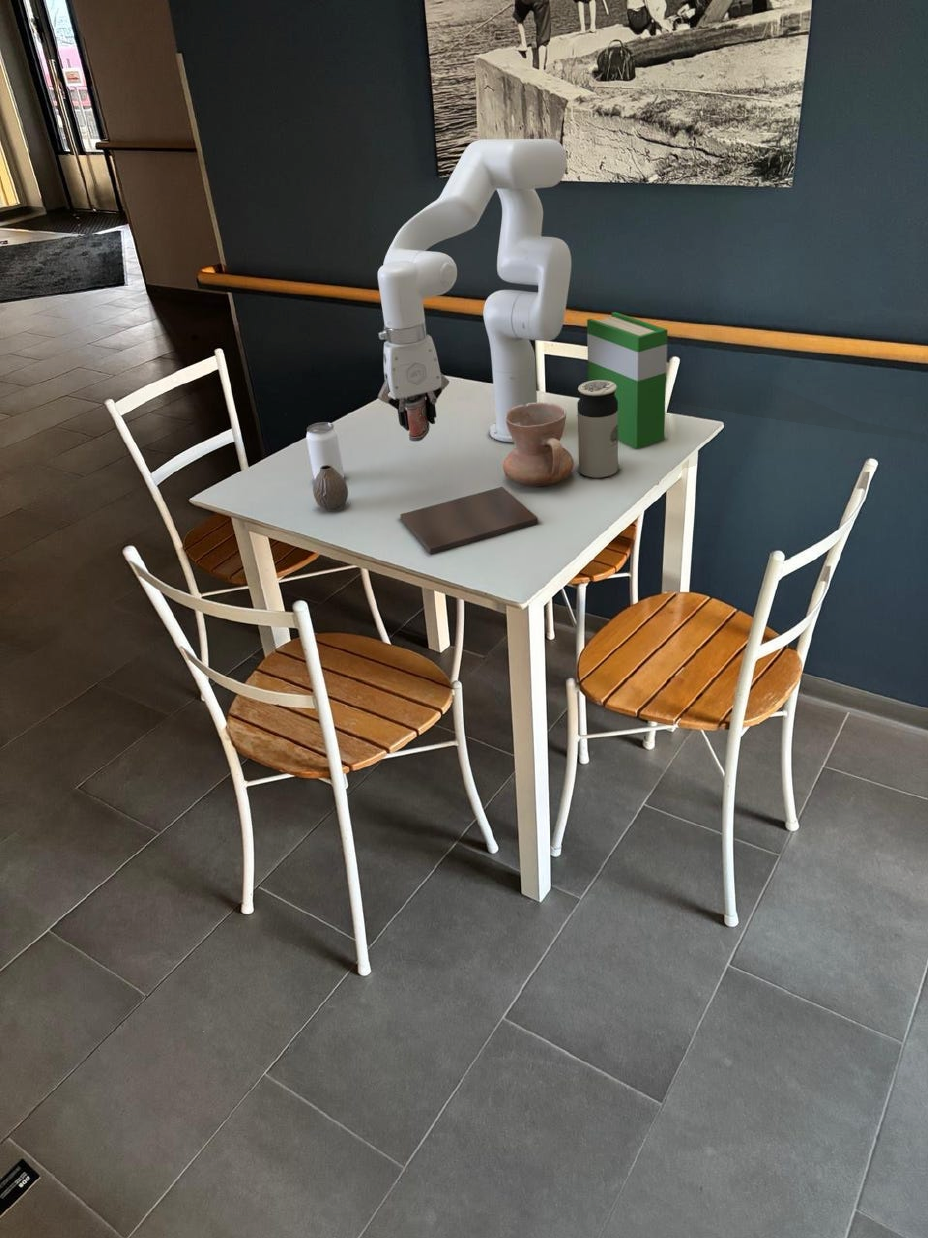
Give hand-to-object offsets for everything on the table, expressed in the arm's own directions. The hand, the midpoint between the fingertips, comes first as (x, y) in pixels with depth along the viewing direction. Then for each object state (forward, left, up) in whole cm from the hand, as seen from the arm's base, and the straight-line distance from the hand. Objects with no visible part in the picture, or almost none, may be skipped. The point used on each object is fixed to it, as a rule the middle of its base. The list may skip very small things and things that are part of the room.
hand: (418, 424), depth 184 cm
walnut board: (-2, +16, -15) cm, 22 cm away
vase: (+19, -5, -15) cm, 25 cm away
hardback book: (-49, -4, -15) cm, 52 cm away
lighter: (0, 0, -2) cm, 2 cm away
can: (+16, -18, -15) cm, 29 cm away
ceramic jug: (-22, +7, -15) cm, 28 cm away
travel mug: (-34, +10, -15) cm, 39 cm away
